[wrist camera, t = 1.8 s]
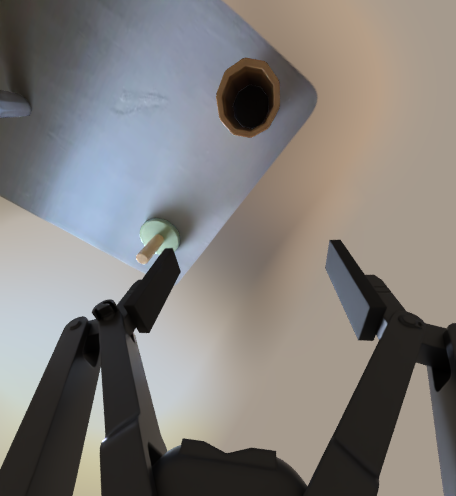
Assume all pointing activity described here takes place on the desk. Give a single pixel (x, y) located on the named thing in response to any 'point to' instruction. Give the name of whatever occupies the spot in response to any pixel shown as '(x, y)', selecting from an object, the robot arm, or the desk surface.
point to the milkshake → (13, 105)
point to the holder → (157, 238)
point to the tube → (239, 79)
